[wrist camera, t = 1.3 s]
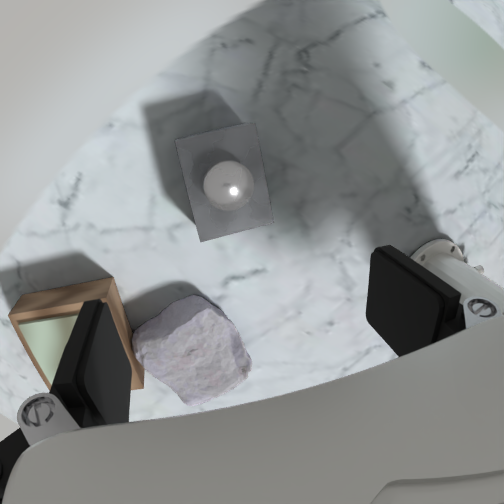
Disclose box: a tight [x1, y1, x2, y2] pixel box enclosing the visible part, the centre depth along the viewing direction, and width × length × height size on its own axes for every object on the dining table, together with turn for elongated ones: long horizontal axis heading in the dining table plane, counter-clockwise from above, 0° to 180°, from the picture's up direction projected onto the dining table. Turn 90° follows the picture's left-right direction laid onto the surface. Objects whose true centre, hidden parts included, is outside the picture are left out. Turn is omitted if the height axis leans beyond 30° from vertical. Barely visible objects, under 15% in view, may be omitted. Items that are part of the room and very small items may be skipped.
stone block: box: [131, 295, 252, 406], centre depth 33 cm, size 12×5×10 cm
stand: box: [8, 277, 145, 390], centre depth 28 cm, size 11×11×4 cm
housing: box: [175, 123, 274, 242], centre depth 25 cm, size 6×8×6 cm
